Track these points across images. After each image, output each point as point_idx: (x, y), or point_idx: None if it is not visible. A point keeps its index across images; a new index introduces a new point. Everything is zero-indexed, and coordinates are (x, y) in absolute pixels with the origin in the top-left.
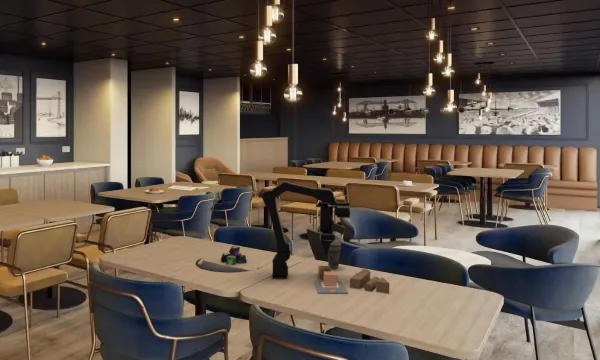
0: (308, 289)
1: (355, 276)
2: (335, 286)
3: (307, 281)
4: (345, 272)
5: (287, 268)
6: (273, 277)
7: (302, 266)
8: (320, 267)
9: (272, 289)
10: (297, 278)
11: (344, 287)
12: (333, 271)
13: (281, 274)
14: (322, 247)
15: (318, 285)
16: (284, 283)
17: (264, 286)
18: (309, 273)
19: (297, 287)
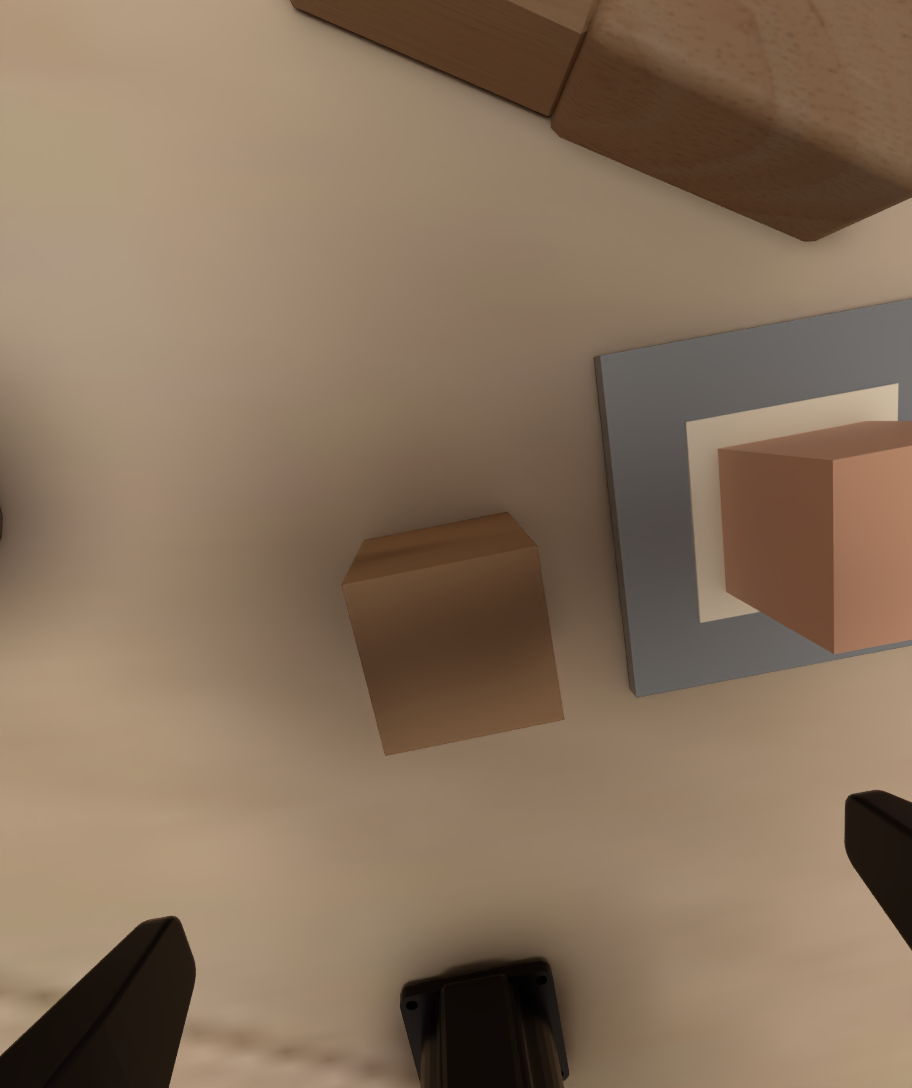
0: (892, 717)
1: (866, 70)
2: None
3: (615, 761)
4: (91, 316)
5: (521, 1075)
6: (568, 1069)
7: (3, 891)
8: (481, 717)
9: (886, 999)
10: (519, 867)
11: (899, 313)
12: (837, 494)
13: (553, 1046)
14: (170, 1079)
15: None
16: (705, 946)
17: (803, 1068)
18: (291, 780)
19: (827, 822)
